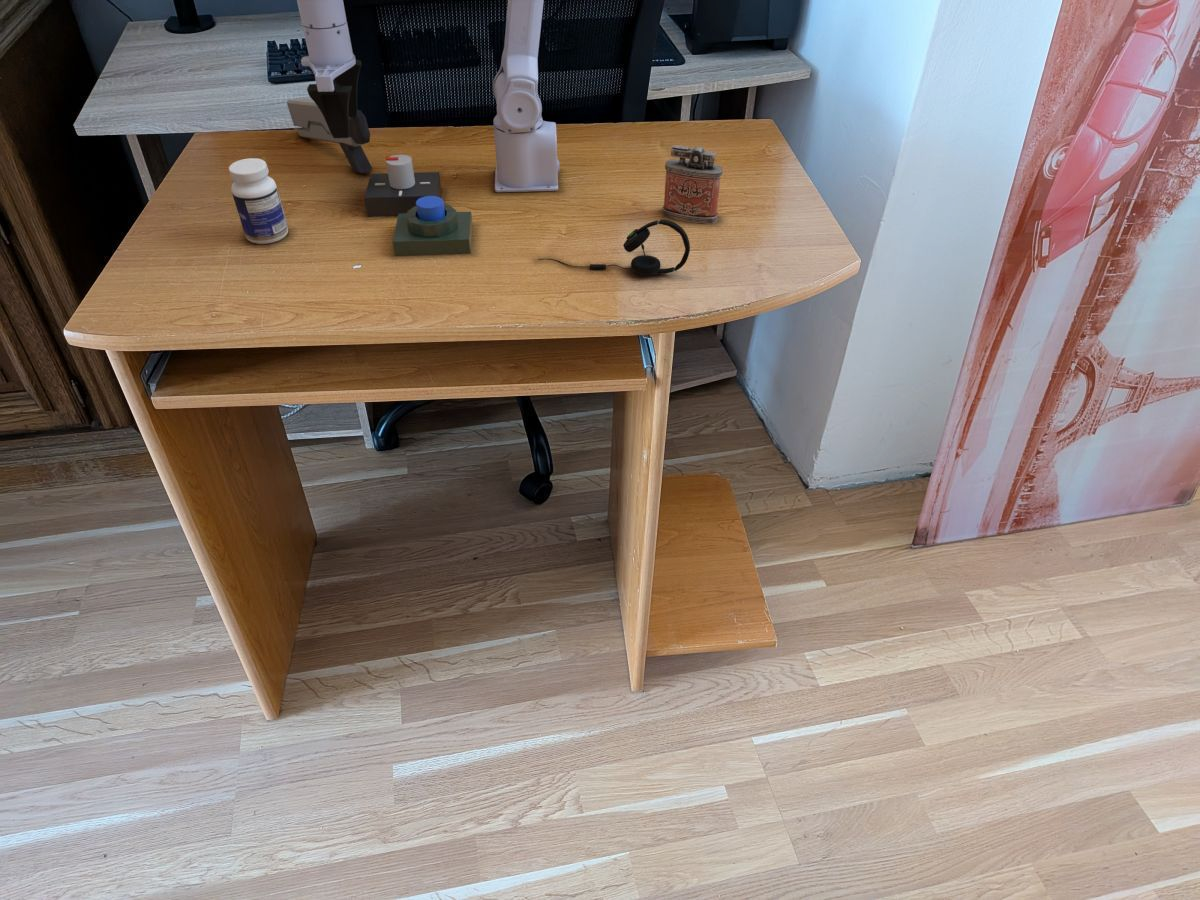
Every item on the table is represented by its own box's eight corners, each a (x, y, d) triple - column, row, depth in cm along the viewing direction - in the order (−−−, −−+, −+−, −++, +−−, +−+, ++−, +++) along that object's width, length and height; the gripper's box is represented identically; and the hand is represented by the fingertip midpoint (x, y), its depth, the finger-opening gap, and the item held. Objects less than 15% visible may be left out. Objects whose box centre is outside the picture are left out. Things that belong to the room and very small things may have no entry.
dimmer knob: (416, 178, 121) (412, 152, 119) (414, 189, 119) (410, 162, 116) (391, 178, 121) (386, 152, 119) (388, 189, 118) (384, 163, 116)
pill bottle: (244, 229, 116) (223, 159, 109) (286, 222, 117) (268, 153, 111) (247, 248, 112) (225, 177, 105) (291, 241, 113) (272, 170, 107)
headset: (565, 281, 118) (701, 247, 110) (552, 305, 112) (693, 271, 104) (547, 237, 114) (686, 198, 106) (532, 259, 109) (677, 221, 101)
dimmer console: (441, 190, 125) (439, 170, 123) (438, 215, 119) (435, 194, 117) (374, 192, 125) (370, 172, 122) (367, 217, 119) (363, 196, 117)
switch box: (472, 225, 117) (469, 199, 114) (470, 254, 111) (467, 226, 108) (400, 228, 116) (396, 201, 114) (394, 256, 111) (390, 228, 108)
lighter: (719, 215, 120) (727, 147, 113) (714, 225, 118) (721, 156, 111) (665, 206, 122) (670, 139, 115) (659, 216, 120) (663, 148, 113)
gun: (370, 177, 126) (350, 107, 120) (304, 162, 143) (284, 100, 138) (385, 172, 127) (366, 103, 121) (317, 158, 144) (298, 96, 139)
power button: (445, 209, 113) (444, 195, 111) (444, 222, 110) (442, 207, 109) (419, 210, 113) (417, 196, 111) (416, 222, 110) (414, 208, 109)
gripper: (303, 7, 114) (325, 108, 123) (282, 40, 104) (307, 147, 113) (356, 6, 115) (373, 107, 124) (339, 39, 104) (360, 146, 113)
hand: (345, 126), depth 118 cm, fingers open, 7 cm apart
